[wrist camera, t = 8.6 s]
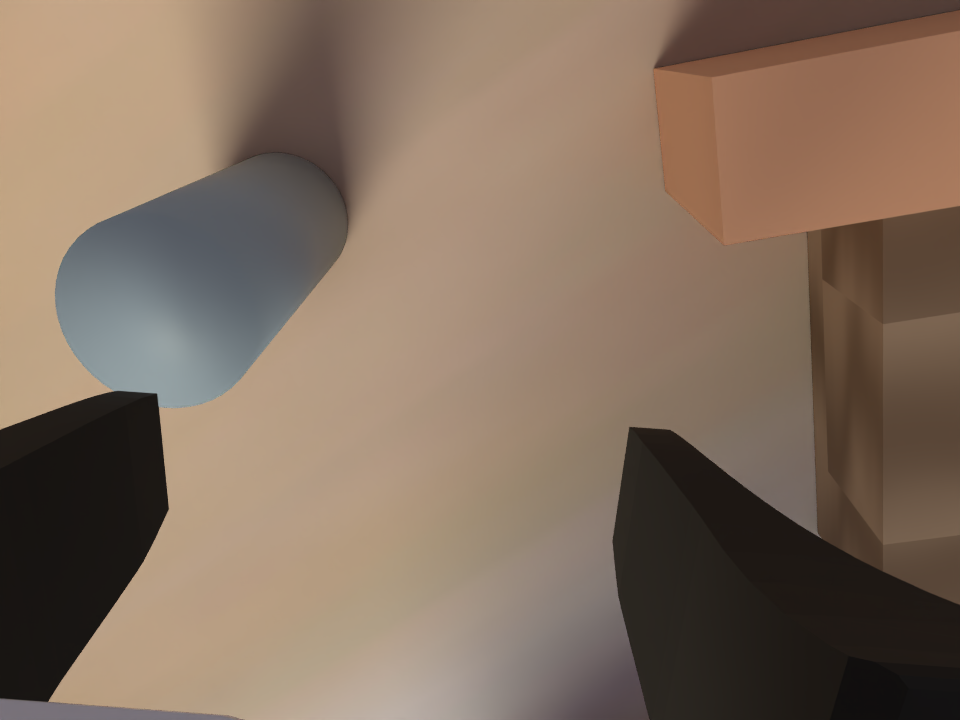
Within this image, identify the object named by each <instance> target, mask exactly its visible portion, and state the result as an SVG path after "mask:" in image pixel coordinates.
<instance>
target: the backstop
mask: <svg viewBox="0 0 960 720" xmlns="http://www.w3.org/2000/svg"><path fill="white" fill-rule="evenodd" d="M653 70H654V80H655V90H656V101H657V111H658V121H659V131H660V141H661V151H662V161H663V171H664V182H665V191H666V192H667V193H668V194H669V195H670V196H671V197H672V198H673V199H675V200H676V201H677V202H678V203H679V204H680V205H681V206H682V207H683V208H684V209H685V210H686V211H687V212H689V213H690V214H691V215H692V216H693V217H694V218H695V219H696V220H697V221H698V222H699V223H700V224H702V225H703V226H704V227H705V228H706V229H707V230H708V231H709V232H710V233H711V234H712V235H713V236H714V237H716V238H717V239H718V240H719V241H720V242H721V243H722V244H723V245H730V244H736V243H742V242H748V241H754V240H760V239H766V238H772V237H778V236H783V235H789V234H795V233H801V232H807V231H813V230H819V229H825V228H831V227H837V226H843V225H849V224H855V223H861V222H867V221H873V220H879V219H885V218H891V217H897V216H902V215H908V214H914V213H920V212H926V211H932V210H938V209H944V208H950V207H956V206H960V10H957V11H952V12H947V13H942V14H936V15H931V16H926V17H921V18H915V19H910V20H905V21H900V22H895V23H889V24H884V25H879V26H874V27H868V28H863V29H858V30H853V31H848V32H842V33H837V34H832V35H827V36H821V37H816V38H811V39H806V40H801V41H795V42H790V43H785V44H780V45H774V46H769V47H764V48H759V49H754V50H748V51H743V52H738V53H733V54H727V55H722V56H717V57H712V58H707V59H701V60H696V61H691V62H686V63H680V64H675V65H670V66H665V67H660V68H654V69H653Z"/></svg>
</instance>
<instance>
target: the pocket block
mask: <svg viewBox="0 0 960 720" xmlns="http://www.w3.org/2000/svg"><path fill="white" fill-rule="evenodd" d="M807 240H808V268H809V296H810V324H811V353H812V381H813V409H814V437H815V466H816V494H817V522H818V533H819V535H820V537H821V538H822V539H823V540H825V541H827V542H828V543H830V544H832V545H834V546H836V547H837V548H839V549H841V550H843V551H845V552H846V553H848V554H850V555H852V556H853V557H855V558H857V559H859V560H861V561H863V562H865V563H867V564H869V565H871V566H873V567H875V568H877V569H879V570H881V571H883V572H885V573H888V574H890V575H892V576H894V577H896V578H898V579H901V580H903V581H905V582H907V583H909V584H912V585H914V586H916V587H918V588H920V589H923V590H925V591H927V592H929V593H932V594H934V595H937V596H939V597H942V598H944V599H947V600H949V601H951V602H954V603H956V604H959V605H960V206H956V207H950V208H944V209H938V210H932V211H926V212H920V213H914V214H908V215H902V216H897V217H891V218H885V219H879V220H873V221H867V222H861V223H855V224H849V225H843V226H837V227H831V228H825V229H819V230H813V231H807Z"/></svg>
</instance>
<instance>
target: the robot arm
mask: <svg viewBox="0 0 960 720" xmlns="http://www.w3.org/2000/svg"><path fill="white" fill-rule="evenodd" d="M168 510H169V506H168V496H167V486H166V476H165V466H164V455H163V445H162V435H161V425H160V415H159V405H158V395H157V393H143V392H129V391H114V392H109V393H104V394H101V395H97V396H94V397H90V398H87V399H84V400H81V401H78V402H75V403H72V404H69V405H67V406H64V407H61V408H58V409H55V410H53V411H50V412H47V413H44V414H42V415H39V416H36V417H34V418H31V419H28V420H25V421H23V422H20V423H17V424H15V425H12V426H9V427H6V428H4V429H1V430H0V720H243V719H239V718H236V717H232V716H228V715H216V714H202V713H189V712H175V711H162V710H149V709H135V708H122V707H108V706H95V705H82V704H68V703H55V702H48V701H49V699H50V698H51V696H52V694H53V693H54V691H55V690H56V688H57V687H58V685H59V683H60V682H61V680H62V679H63V677H64V676H65V675H66V673H67V672H68V670H69V669H70V667H71V666H72V664H73V663H74V662H75V660H76V659H77V657H78V656H79V654H80V653H81V652H82V650H83V649H84V647H85V646H86V644H87V643H88V642H89V640H90V639H91V637H92V636H93V634H94V633H95V632H96V630H97V629H98V627H99V626H100V624H101V623H102V622H103V620H104V619H105V617H106V616H107V614H108V613H109V612H110V610H111V609H112V607H113V606H114V604H115V603H116V602H117V600H118V599H119V597H120V596H121V594H122V593H123V591H124V590H125V588H126V587H127V585H128V584H129V582H130V581H131V580H132V578H133V577H134V575H135V574H136V572H137V571H138V569H139V568H140V566H141V565H142V563H143V561H144V559H145V557H146V555H147V553H148V552H149V550H150V548H151V546H152V544H153V542H154V540H155V538H156V536H157V533H158V531H159V529H160V527H161V525H162V523H163V521H164V518H165V516H166V514H167V512H168ZM613 550H614V560H615V570H616V579H617V587H618V596H619V600H620V605H621V609H622V613H623V617H624V621H625V625H626V629H627V633H628V637H629V641H630V645H631V649H632V653H633V657H634V660H635V664H636V668H637V672H638V676H639V680H640V684H641V688H642V692H643V695H644V699H645V703H646V707H647V711H648V715H649V719H650V720H960V605H959V604H956V603H954V602H951V601H949V600H947V599H944V598H942V597H939V596H937V595H934V594H932V593H929V592H927V591H925V590H923V589H920V588H918V587H916V586H914V585H912V584H909V583H907V582H905V581H903V580H901V579H898V578H896V577H894V576H892V575H890V574H888V573H885V572H883V571H881V570H879V569H877V568H875V567H873V566H871V565H869V564H867V563H865V562H863V561H861V560H859V559H857V558H855V557H853V556H852V555H850V554H848V553H846V552H845V551H843V550H841V549H839V548H837V547H836V546H834V545H832V544H830V543H828V542H827V541H825V540H823V539H821V538H820V537H818V536H816V535H814V534H813V533H811V532H810V531H808V530H806V529H805V528H803V527H801V526H800V525H798V524H797V523H795V522H794V521H792V520H791V519H789V518H788V517H786V516H785V515H783V514H782V513H780V512H779V511H777V510H776V509H774V508H773V507H772V506H770V505H769V504H767V503H766V502H764V501H763V500H762V499H760V498H759V497H757V496H756V495H755V494H753V493H752V492H751V491H749V490H748V489H747V488H745V487H744V486H743V485H741V484H740V483H739V482H737V481H736V480H735V479H733V478H732V477H731V476H730V475H728V474H727V473H726V472H724V471H723V470H722V469H721V468H719V467H718V466H717V465H716V464H714V463H713V462H712V461H711V460H709V459H708V458H707V457H706V456H704V455H703V454H702V453H701V452H699V451H698V450H697V449H696V448H694V447H693V446H692V445H691V444H689V443H688V442H687V441H685V440H684V439H683V438H681V437H680V436H679V435H677V434H676V433H674V432H673V431H671V430H665V429H651V428H637V427H629V433H628V440H627V447H626V454H625V460H624V467H623V474H622V481H621V488H620V494H619V501H618V508H617V515H616V522H615V528H614V535H613Z"/></svg>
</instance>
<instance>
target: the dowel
mask: <svg viewBox="0 0 960 720" xmlns="http://www.w3.org/2000/svg"><path fill="white" fill-rule="evenodd" d="M347 230H348V219H347V212H346V208H345V204H344V201H343V199H342V196H341V194H340V192H339V190H338V189H337V187H336V186H335V184H334V183H333V181H332V180H331V179H330V178H329V177H328V176H327V175H326V174H325V173H324V172H323V171H322V170H321V169H320V168H318V167H317V166H316V165H314V164H313V163H311V162H309V161H308V160H305V159H303V158H301V157H298V156H295V155H291V154H286V153H265V154H260V155H257V156H254V157H251V158H249V159H247V160H244V161H242V162H240V163H237V164H235V165H233V166H230V167H228V168H226V169H223V170H221V171H219V172H216V173H214V174H212V175H209V176H207V177H205V178H202V179H200V180H198V181H195V182H193V183H191V184H188V185H186V186H184V187H181V188H179V189H177V190H174V191H172V192H170V193H167V194H165V195H163V196H160V197H158V198H156V199H153V200H151V201H149V202H146V203H144V204H142V205H139V206H137V207H135V208H132V209H130V210H128V211H125V212H123V213H121V214H118V215H116V216H114V217H111V218H109V219H107V220H104V221H102V222H100V223H97V224H96V225H94V226H93V227H91V228H89V229H88V230H86V231H85V232H84V233H83V234H82V235H81V236H79V237H78V238H77V239H76V241H75V242H74V243H73V244H72V245H71V247H70V248H69V249H68V251H67V253H66V254H65V256H64V258H63V260H62V263H61V265H60V268H59V271H58V275H57V279H56V288H55V302H56V310H57V316H58V320H59V323H60V326H61V329H62V332H63V334H64V336H65V339H66V341H67V343H68V345H69V346H70V348H71V349H72V351H73V353H74V354H75V356H76V357H77V358H78V360H79V361H80V362H81V363H82V365H83V366H84V367H85V368H86V369H87V370H88V371H89V372H90V373H91V374H92V375H93V376H94V377H95V378H97V379H98V380H99V381H100V382H101V383H103V384H104V385H106V386H107V387H109V388H110V389H112V390H113V391H129V392H143V393H157V395H158V405H159V407H164V408H182V407H191V406H195V405H199V404H203V403H205V402H208V401H211V400H213V399H215V398H217V397H219V396H221V395H222V394H224V393H225V392H227V391H228V390H229V389H231V388H232V387H233V386H234V385H235V384H236V383H237V382H238V381H239V380H240V379H241V378H242V376H243V375H244V374H245V373H246V371H247V370H248V369H249V368H250V366H251V365H252V364H253V363H254V362H255V360H256V359H257V358H258V357H259V355H260V354H261V353H262V352H263V350H264V349H265V348H266V347H267V346H268V344H269V343H270V342H271V341H272V339H273V338H274V337H275V336H276V334H277V333H278V332H279V331H280V330H281V328H282V327H283V326H284V325H285V323H286V322H287V321H288V320H289V318H290V317H291V316H292V315H293V313H294V312H295V311H296V310H297V309H298V307H299V306H300V305H301V304H302V302H303V301H304V300H305V299H306V297H307V296H308V295H309V294H310V293H311V291H312V290H313V289H314V288H315V286H316V285H317V284H318V283H319V281H320V280H321V279H322V278H323V276H324V275H325V274H326V273H327V272H328V270H329V269H330V268H331V267H332V265H333V264H334V263H335V262H336V260H337V259H338V257H339V256H340V254H341V252H342V250H343V247H344V245H345V242H346V237H347Z"/></svg>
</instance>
